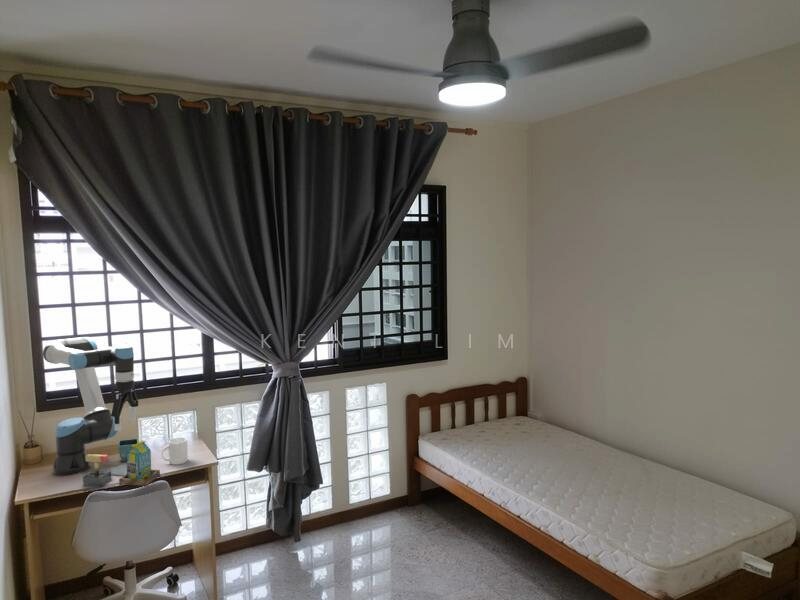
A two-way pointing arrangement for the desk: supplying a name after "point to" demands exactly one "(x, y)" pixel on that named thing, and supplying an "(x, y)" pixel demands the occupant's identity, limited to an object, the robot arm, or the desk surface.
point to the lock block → (97, 478)
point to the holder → (143, 482)
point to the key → (96, 460)
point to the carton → (139, 461)
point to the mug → (177, 451)
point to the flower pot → (125, 447)
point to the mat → (120, 470)
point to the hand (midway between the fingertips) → (125, 425)
